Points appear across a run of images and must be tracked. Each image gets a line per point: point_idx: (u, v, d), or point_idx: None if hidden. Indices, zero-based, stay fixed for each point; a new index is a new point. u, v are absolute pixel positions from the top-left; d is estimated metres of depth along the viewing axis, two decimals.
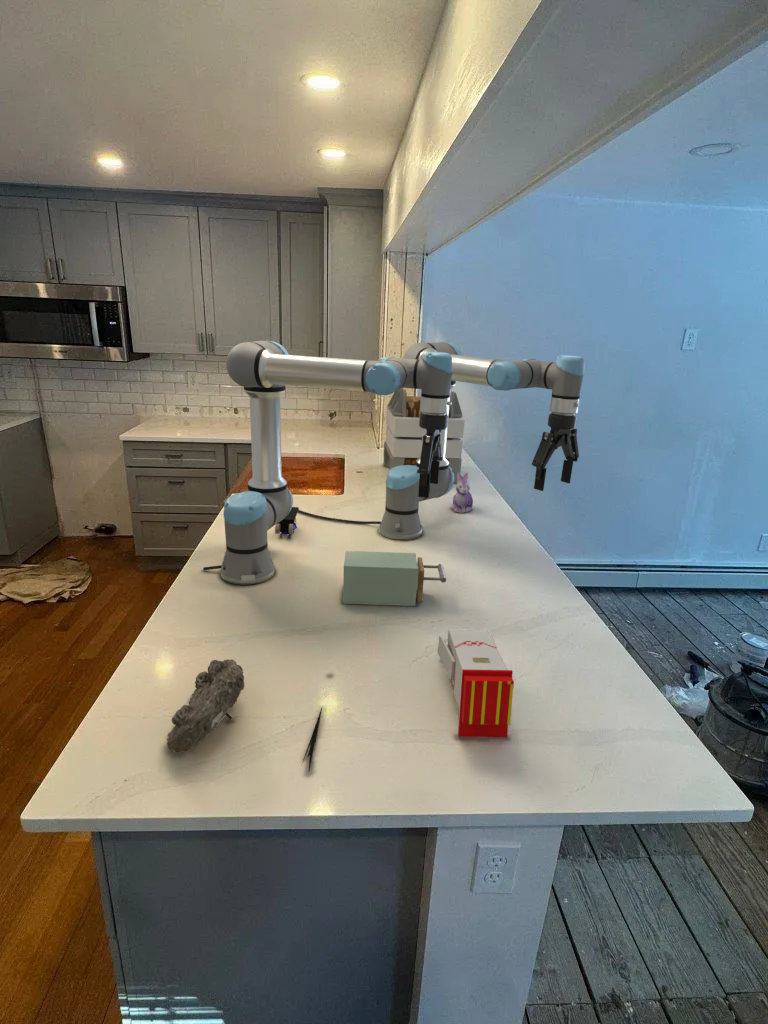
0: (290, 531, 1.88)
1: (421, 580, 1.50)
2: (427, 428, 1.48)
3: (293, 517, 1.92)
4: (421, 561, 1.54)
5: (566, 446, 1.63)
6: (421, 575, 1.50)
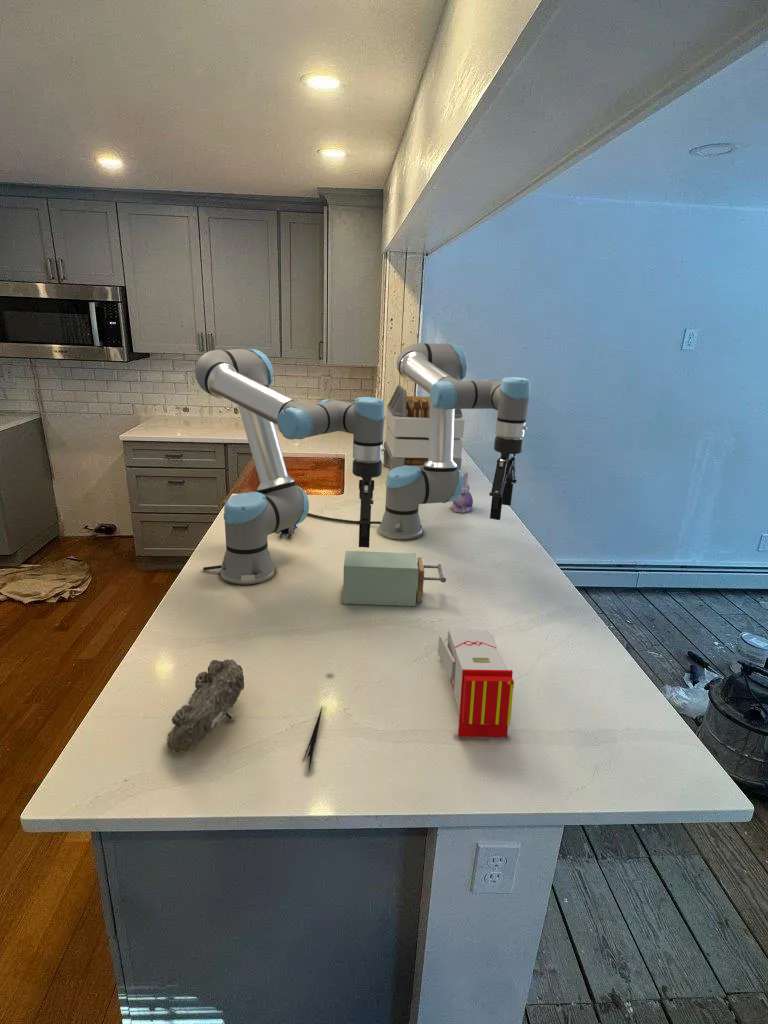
0: (290, 531, 1.88)
1: (421, 580, 1.50)
2: (363, 476, 1.42)
3: None
4: (421, 561, 1.54)
5: (510, 469, 1.58)
6: (421, 575, 1.50)
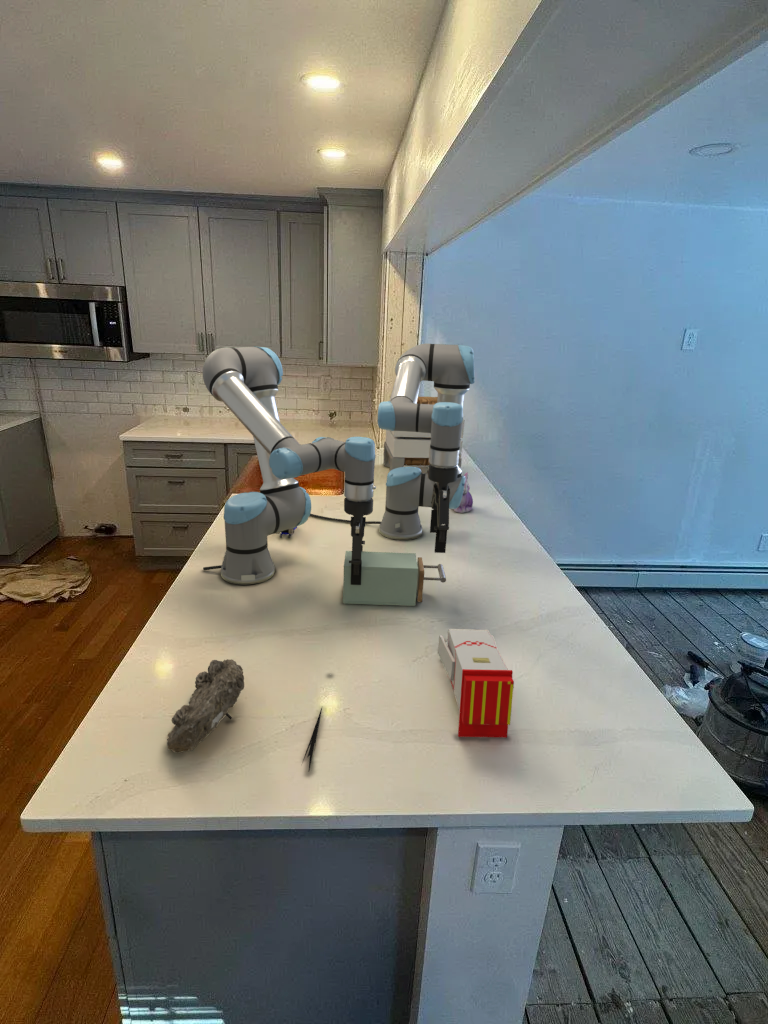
0: (290, 531, 1.88)
1: (421, 580, 1.50)
2: (354, 515, 1.44)
3: None
4: (421, 561, 1.54)
5: None
6: (421, 575, 1.50)
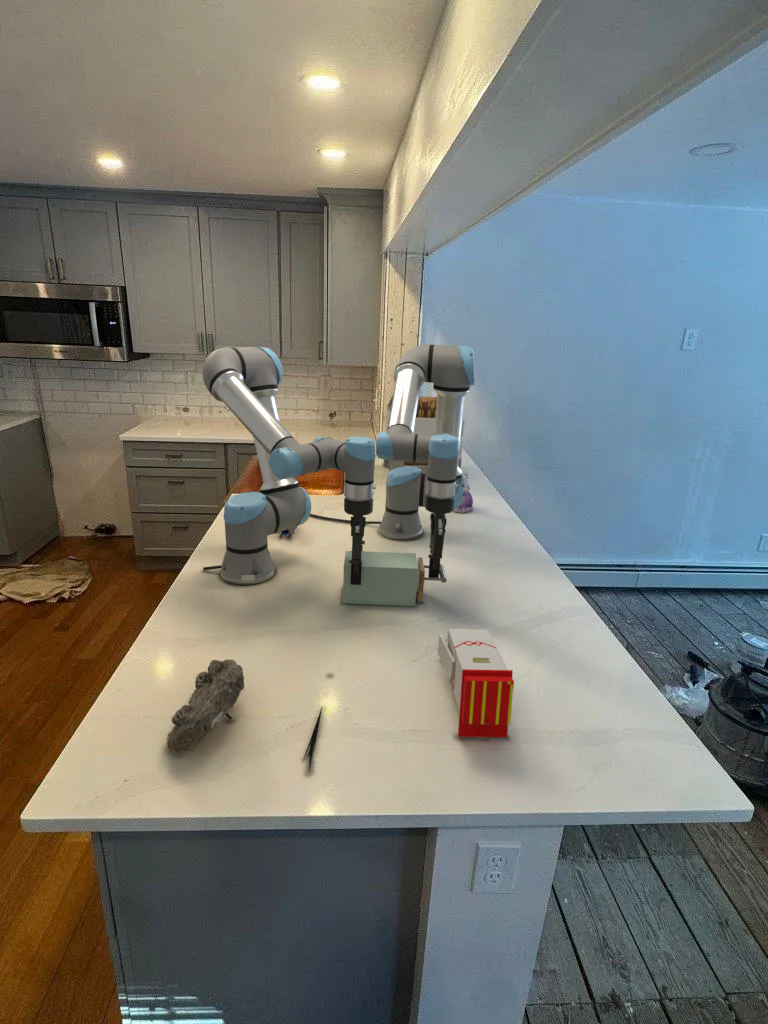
0: (290, 531, 1.88)
1: (422, 580, 1.50)
2: (354, 514, 1.44)
3: None
4: (421, 561, 1.54)
5: None
6: (422, 575, 1.49)
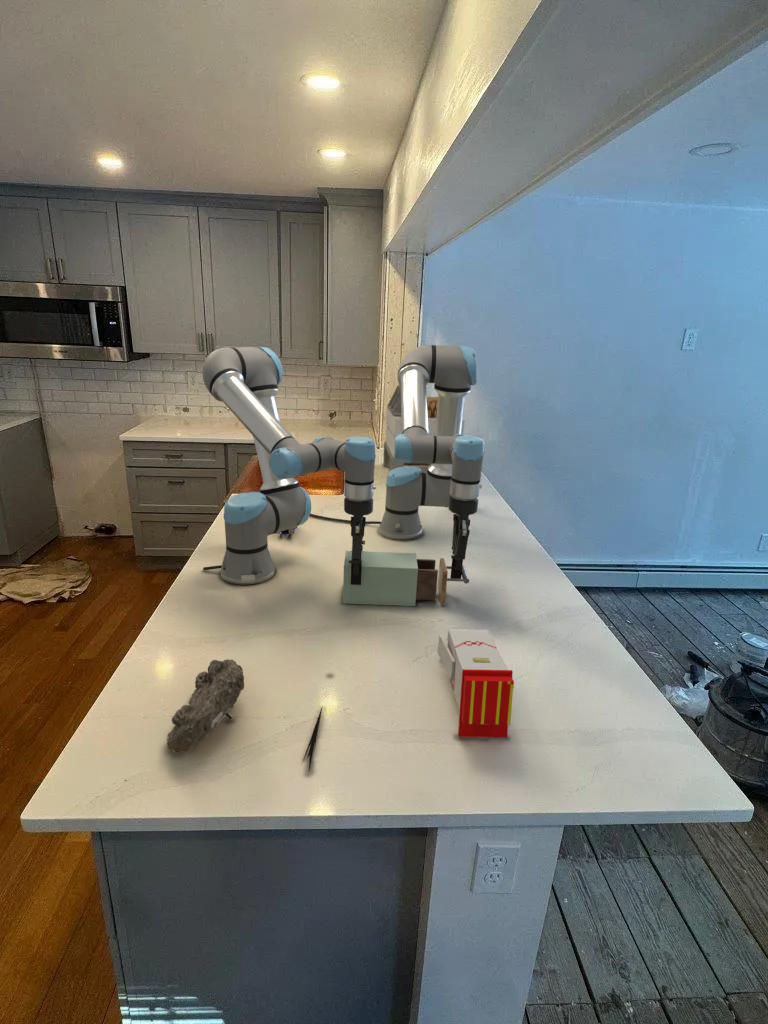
0: (290, 531, 1.88)
1: (444, 581, 1.50)
2: (354, 514, 1.44)
3: None
4: (443, 562, 1.54)
5: None
6: (444, 576, 1.50)
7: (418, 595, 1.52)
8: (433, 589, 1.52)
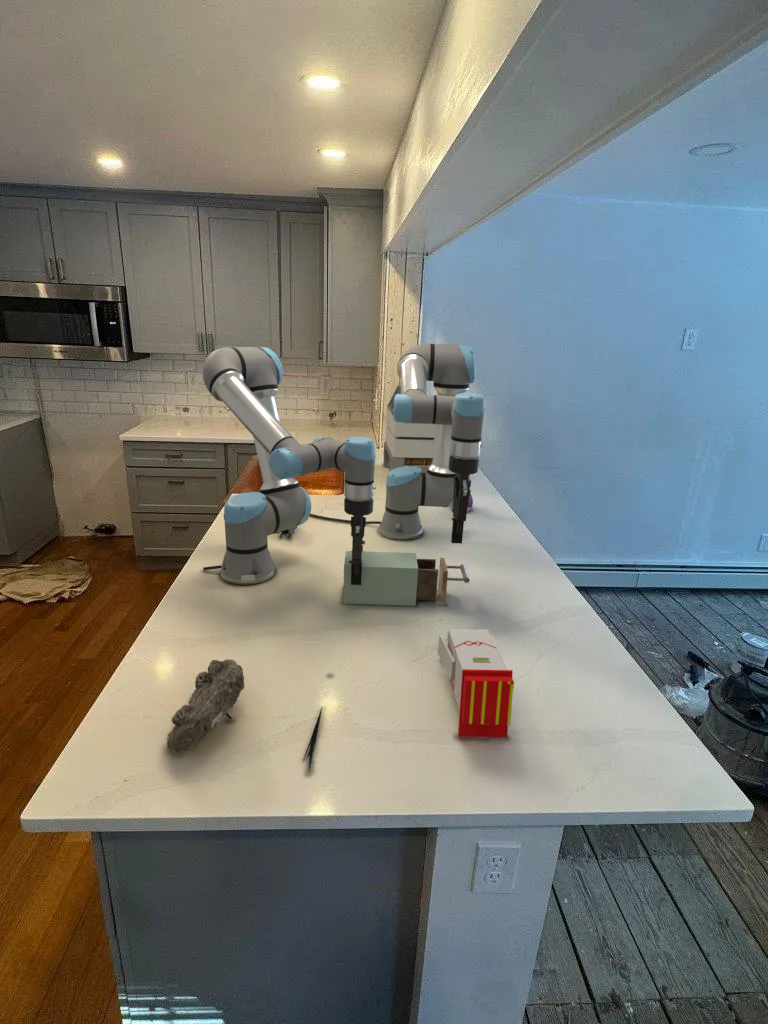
0: (290, 531, 1.88)
1: (445, 580, 1.50)
2: (354, 515, 1.44)
3: None
4: (443, 562, 1.54)
5: None
6: (445, 575, 1.50)
7: (418, 595, 1.52)
8: (433, 589, 1.52)
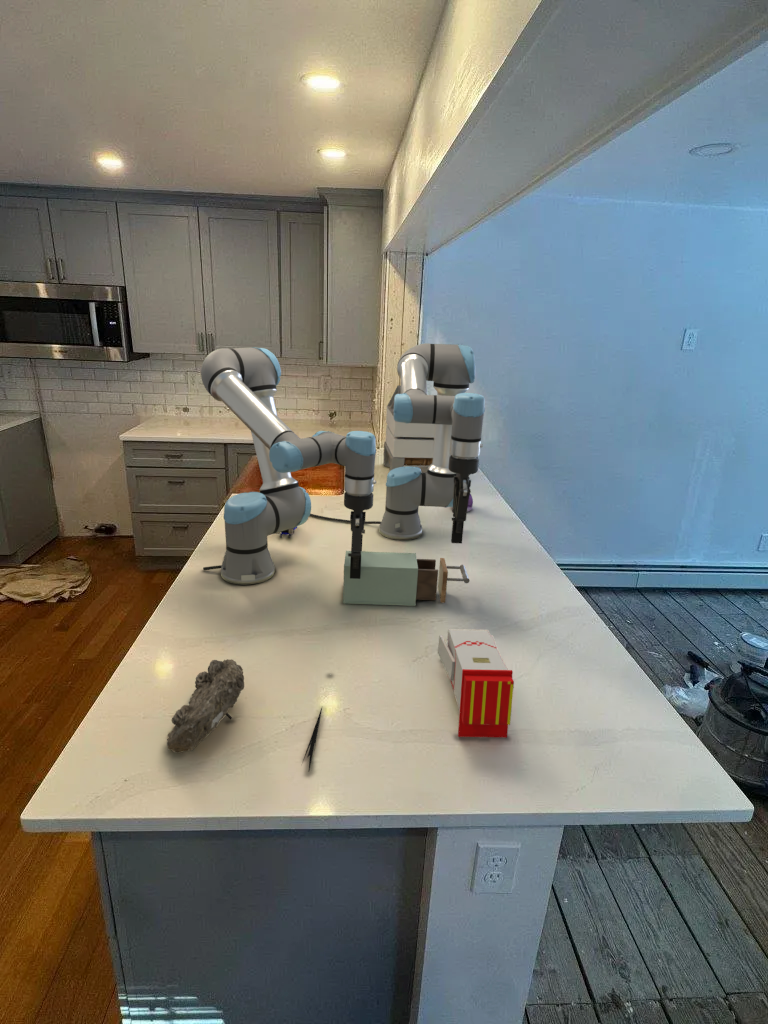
0: (290, 531, 1.88)
1: (444, 581, 1.50)
2: (354, 509, 1.44)
3: None
4: (443, 562, 1.55)
5: None
6: (445, 576, 1.50)
7: (418, 595, 1.52)
8: (433, 589, 1.52)
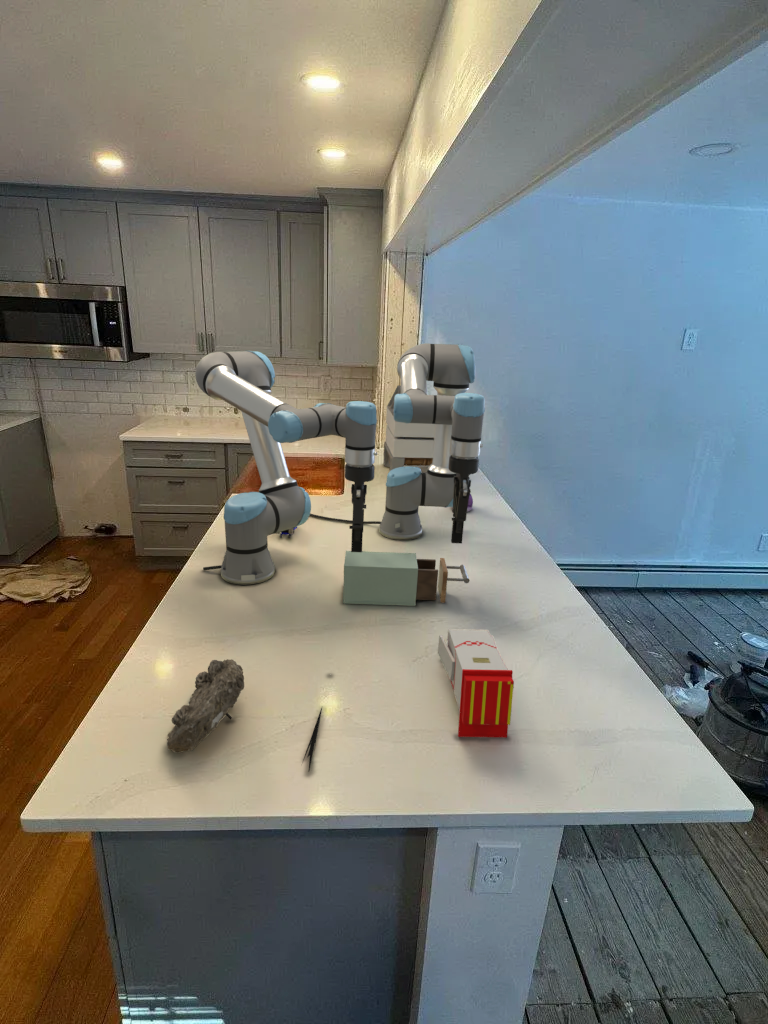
0: (290, 531, 1.88)
1: (444, 581, 1.50)
2: (355, 481, 1.41)
3: None
4: (443, 562, 1.55)
5: None
6: (445, 576, 1.50)
7: (418, 595, 1.52)
8: (433, 589, 1.52)
